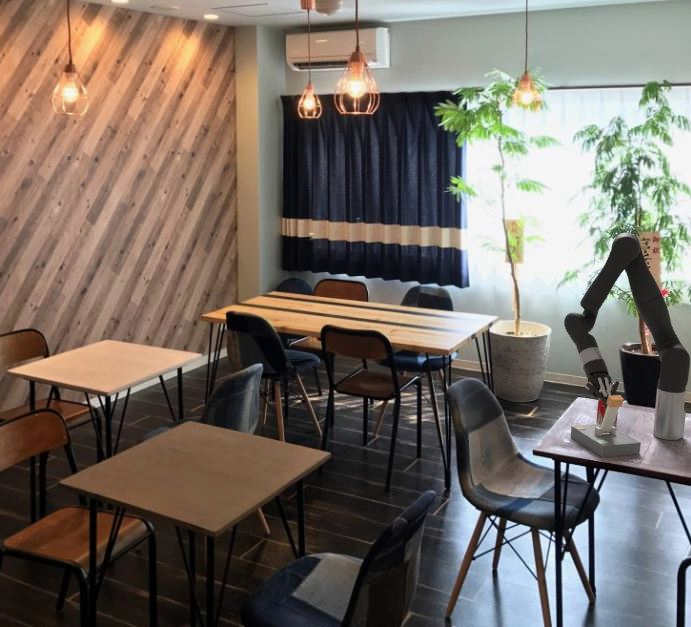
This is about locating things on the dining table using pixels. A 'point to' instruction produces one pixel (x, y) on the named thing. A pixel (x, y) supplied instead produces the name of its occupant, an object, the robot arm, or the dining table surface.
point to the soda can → (603, 413)
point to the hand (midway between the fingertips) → (610, 408)
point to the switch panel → (605, 440)
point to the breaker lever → (611, 412)
